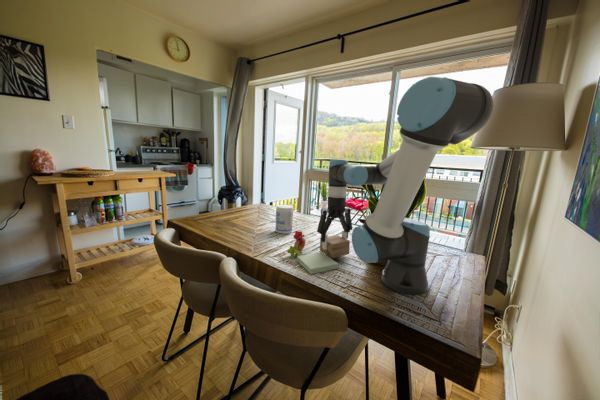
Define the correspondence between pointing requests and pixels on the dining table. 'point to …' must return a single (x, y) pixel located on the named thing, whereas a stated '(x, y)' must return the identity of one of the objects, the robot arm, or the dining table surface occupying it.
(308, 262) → the base plate
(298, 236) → the bird rattle
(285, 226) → the supplement tub
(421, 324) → the dining table surface
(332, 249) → the walnut block
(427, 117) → the robot arm
